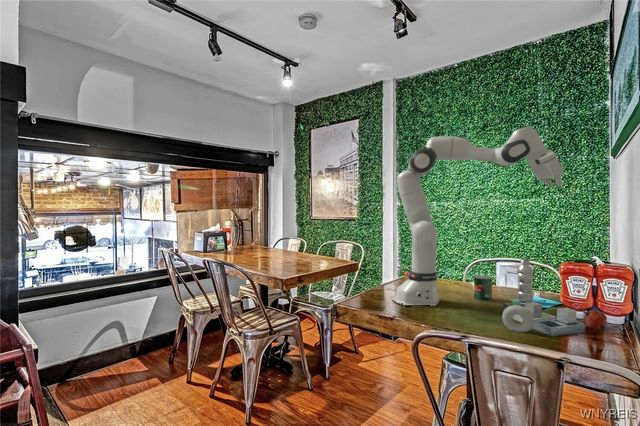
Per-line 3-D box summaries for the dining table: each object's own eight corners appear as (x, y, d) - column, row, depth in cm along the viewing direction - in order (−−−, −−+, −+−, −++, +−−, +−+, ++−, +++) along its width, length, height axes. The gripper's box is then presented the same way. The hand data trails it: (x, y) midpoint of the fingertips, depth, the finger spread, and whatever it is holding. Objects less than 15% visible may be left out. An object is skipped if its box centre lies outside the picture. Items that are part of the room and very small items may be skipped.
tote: (529, 328, 128) (529, 320, 127) (511, 320, 136) (511, 312, 136) (556, 324, 131) (556, 316, 131) (536, 317, 139) (536, 310, 139)
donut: (501, 331, 125) (501, 304, 125) (502, 328, 128) (502, 301, 127) (533, 337, 119) (533, 309, 119) (534, 334, 122) (534, 306, 121)
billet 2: (567, 331, 122) (567, 311, 122) (556, 327, 126) (557, 308, 125) (576, 330, 123) (576, 310, 123) (565, 326, 127) (565, 307, 126)
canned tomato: (471, 299, 167) (471, 276, 167) (478, 296, 172) (478, 274, 172) (487, 302, 161) (488, 279, 161) (494, 299, 166) (494, 276, 166)
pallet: (552, 338, 117) (552, 328, 117) (532, 330, 125) (532, 321, 125) (585, 334, 121) (585, 324, 121) (563, 326, 129) (564, 317, 129)
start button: (516, 309, 142) (516, 302, 141) (510, 307, 145) (510, 300, 145) (522, 309, 142) (522, 302, 142) (516, 307, 145) (516, 300, 145)
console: (516, 317, 139) (516, 308, 139) (503, 312, 146) (503, 303, 146) (530, 316, 141) (530, 306, 141) (516, 311, 148) (516, 301, 148)
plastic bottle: (535, 303, 158) (536, 261, 158) (519, 303, 160) (519, 260, 159) (529, 300, 164) (530, 258, 164) (514, 299, 166) (514, 258, 165)
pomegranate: (599, 332, 129) (574, 313, 132) (615, 320, 126) (589, 301, 129) (603, 341, 123) (576, 321, 126) (620, 328, 120) (592, 308, 123)
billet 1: (533, 323, 131) (533, 305, 131) (524, 320, 135) (524, 302, 135) (541, 322, 132) (542, 304, 132) (532, 319, 136) (533, 301, 136)
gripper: (524, 165, 162) (539, 190, 161) (541, 159, 142) (559, 188, 141) (537, 158, 161) (553, 183, 160) (556, 151, 141) (574, 181, 140)
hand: (556, 186), depth 150 cm, fingers open, 8 cm apart
